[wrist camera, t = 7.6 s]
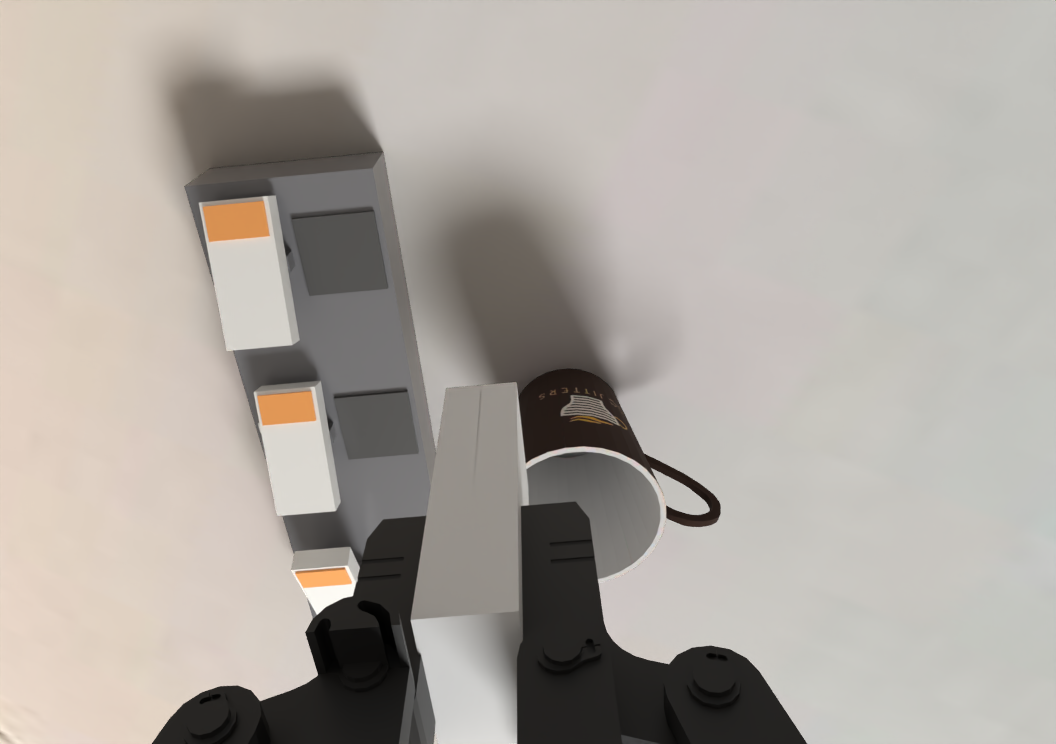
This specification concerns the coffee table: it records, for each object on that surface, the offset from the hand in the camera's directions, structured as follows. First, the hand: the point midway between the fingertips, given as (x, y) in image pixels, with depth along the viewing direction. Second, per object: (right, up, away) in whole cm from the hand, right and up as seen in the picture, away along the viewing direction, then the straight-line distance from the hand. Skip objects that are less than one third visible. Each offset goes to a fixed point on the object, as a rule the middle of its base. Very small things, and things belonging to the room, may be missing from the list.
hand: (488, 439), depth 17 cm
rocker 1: (-12, +6, +20) cm, 25 cm away
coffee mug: (+4, -2, +31) cm, 32 cm away
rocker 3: (-11, -11, +30) cm, 34 cm away
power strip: (-9, -4, +32) cm, 33 cm away
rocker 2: (-11, -3, +25) cm, 28 cm away
